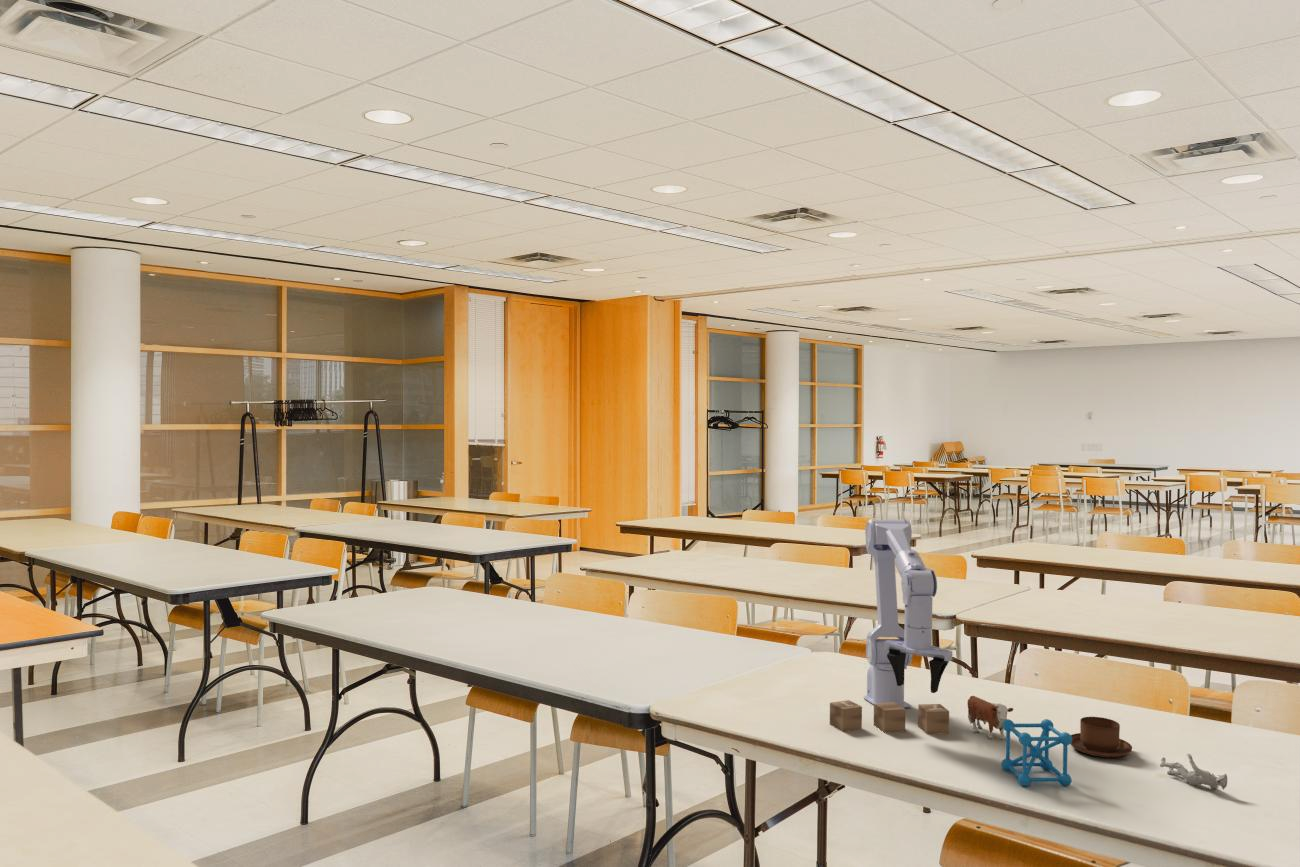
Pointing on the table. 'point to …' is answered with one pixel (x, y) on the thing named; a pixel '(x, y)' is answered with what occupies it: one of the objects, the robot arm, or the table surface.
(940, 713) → the cube seven
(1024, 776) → the molecular structure
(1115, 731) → the cup and saucer
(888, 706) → the plain cube
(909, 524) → the robot arm
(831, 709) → the cube one
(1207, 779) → the soldier figure
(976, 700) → the bull figurine
